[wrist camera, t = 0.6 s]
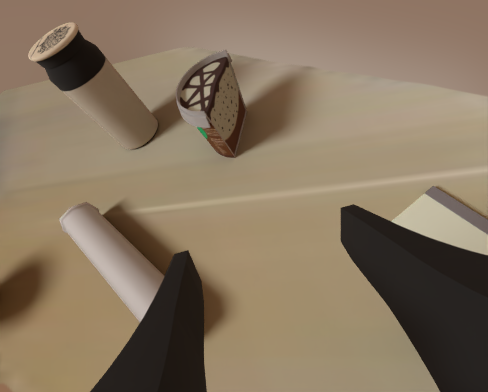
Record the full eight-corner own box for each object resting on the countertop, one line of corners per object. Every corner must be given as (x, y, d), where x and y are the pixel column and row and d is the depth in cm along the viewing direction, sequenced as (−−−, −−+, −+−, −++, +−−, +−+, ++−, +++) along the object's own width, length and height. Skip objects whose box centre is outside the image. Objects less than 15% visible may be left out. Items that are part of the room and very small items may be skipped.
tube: (200, 302, 25) (87, 195, 38) (155, 350, 22) (51, 218, 35) (210, 321, 29) (105, 218, 41) (173, 364, 26) (73, 240, 39)
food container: (215, 108, 45) (187, 55, 36) (248, 104, 42) (227, 47, 34) (196, 166, 39) (158, 119, 31) (233, 166, 37) (202, 115, 29)
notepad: (546, 260, 21) (550, 258, 21) (477, 323, 21) (480, 322, 20) (431, 188, 27) (433, 185, 27) (375, 235, 26) (375, 234, 26)
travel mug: (162, 113, 49) (85, 13, 34) (154, 145, 45) (64, 47, 30) (127, 123, 51) (41, 32, 36) (117, 154, 47) (15, 67, 32)
